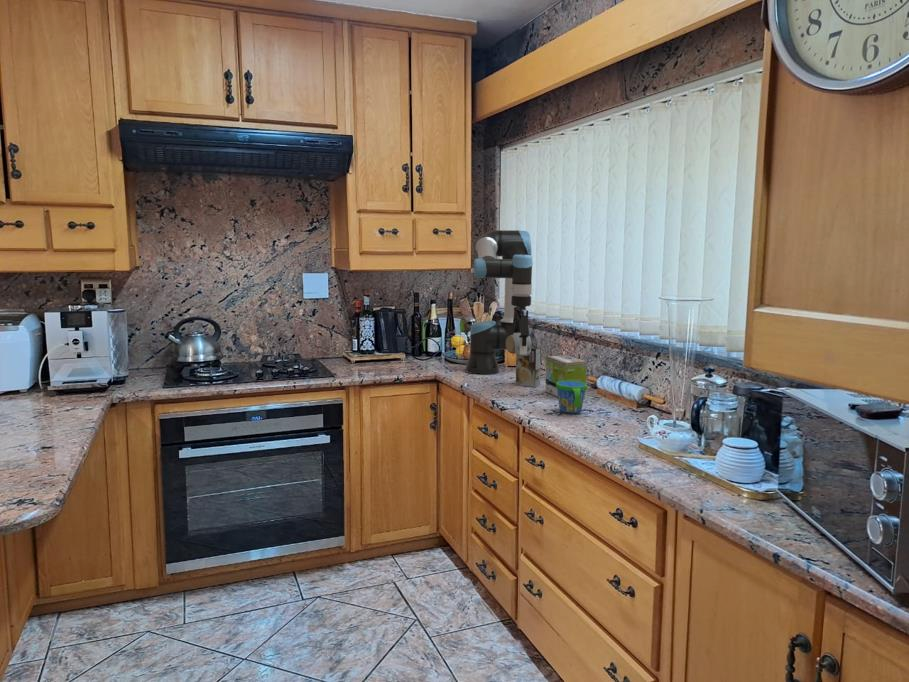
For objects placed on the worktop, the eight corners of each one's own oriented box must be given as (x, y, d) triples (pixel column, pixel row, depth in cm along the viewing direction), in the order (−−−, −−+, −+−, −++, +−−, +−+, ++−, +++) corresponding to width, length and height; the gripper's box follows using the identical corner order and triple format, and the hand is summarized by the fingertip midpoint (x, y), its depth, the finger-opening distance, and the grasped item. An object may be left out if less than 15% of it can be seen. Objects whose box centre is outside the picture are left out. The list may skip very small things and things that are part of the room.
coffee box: (540, 385, 279) (542, 347, 277) (535, 387, 274) (536, 349, 272) (520, 382, 284) (521, 345, 282) (514, 385, 278) (515, 347, 276)
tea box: (544, 392, 265) (545, 355, 263) (566, 390, 269) (567, 354, 267) (563, 400, 251) (564, 361, 250) (586, 398, 255) (587, 360, 253)
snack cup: (590, 417, 225) (591, 388, 224) (559, 417, 225) (560, 387, 224) (580, 406, 241) (582, 379, 240) (551, 406, 241) (552, 378, 239)
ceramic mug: (504, 352, 261) (504, 332, 260) (522, 350, 264) (522, 331, 263) (517, 357, 251) (518, 337, 250) (536, 355, 255) (537, 335, 253)
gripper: (505, 292, 266) (504, 346, 269) (518, 297, 243) (516, 357, 246) (523, 292, 267) (522, 346, 270) (538, 298, 244) (536, 356, 247)
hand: (519, 351), depth 258 cm, fingers closed on ceramic mug, 11 cm apart
